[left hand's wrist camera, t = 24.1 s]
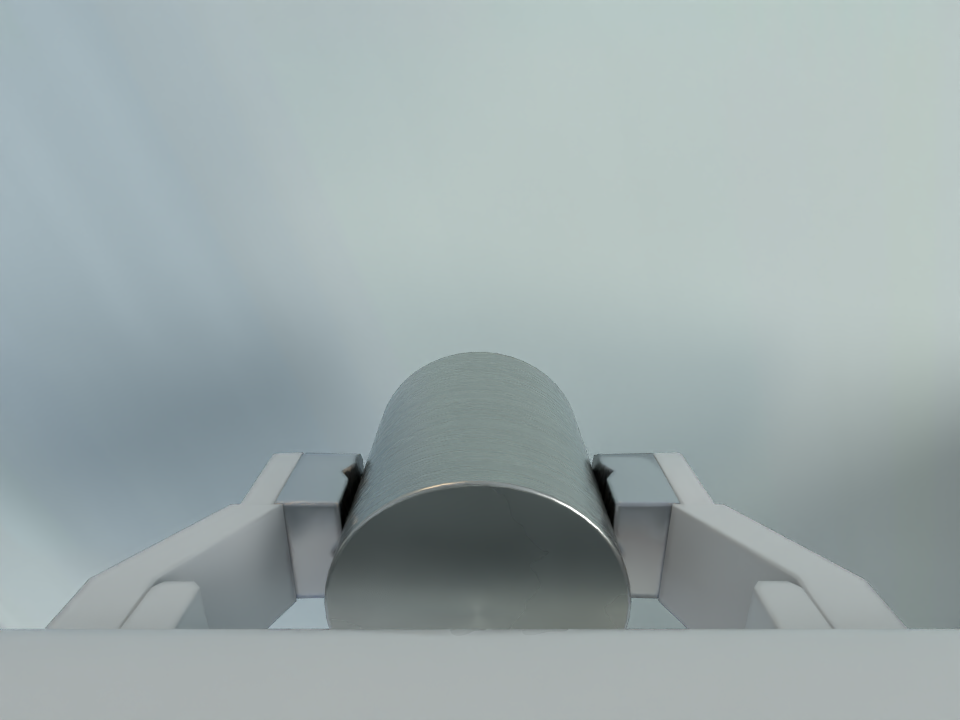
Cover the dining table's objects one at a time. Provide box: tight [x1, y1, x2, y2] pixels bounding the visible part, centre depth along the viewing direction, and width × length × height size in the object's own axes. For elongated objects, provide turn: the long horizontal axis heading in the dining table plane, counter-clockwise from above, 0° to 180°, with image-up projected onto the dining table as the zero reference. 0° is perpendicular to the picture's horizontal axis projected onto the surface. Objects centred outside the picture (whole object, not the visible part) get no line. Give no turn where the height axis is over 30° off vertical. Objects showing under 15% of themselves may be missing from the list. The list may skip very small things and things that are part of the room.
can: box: [324, 352, 631, 629], centre depth 10 cm, size 4×4×5 cm
